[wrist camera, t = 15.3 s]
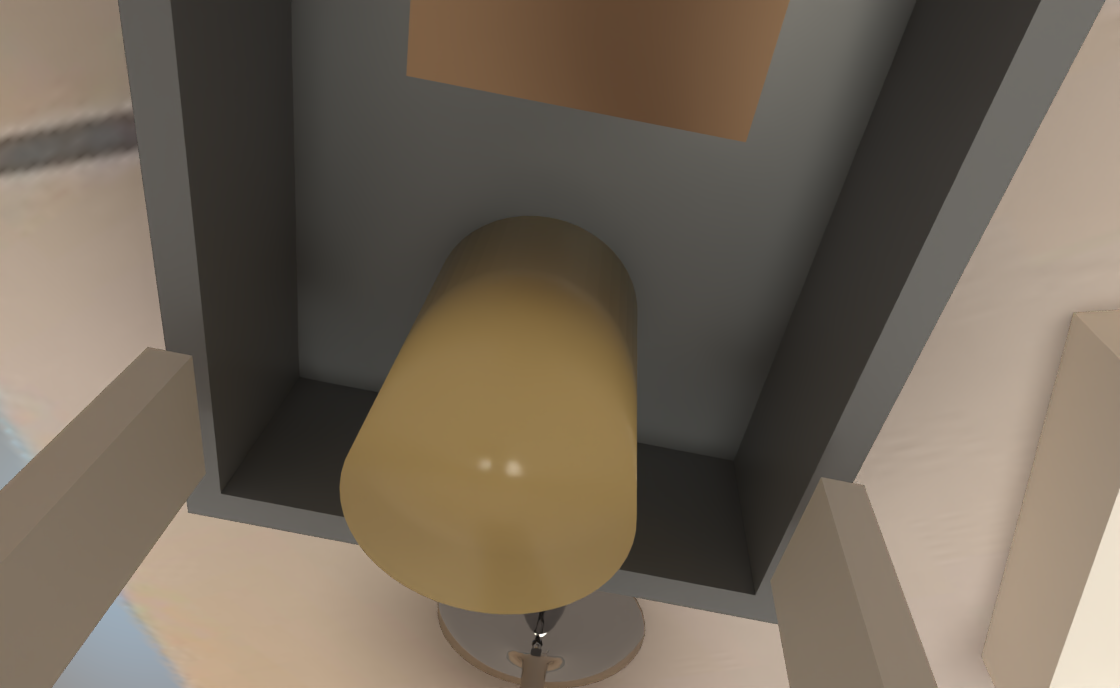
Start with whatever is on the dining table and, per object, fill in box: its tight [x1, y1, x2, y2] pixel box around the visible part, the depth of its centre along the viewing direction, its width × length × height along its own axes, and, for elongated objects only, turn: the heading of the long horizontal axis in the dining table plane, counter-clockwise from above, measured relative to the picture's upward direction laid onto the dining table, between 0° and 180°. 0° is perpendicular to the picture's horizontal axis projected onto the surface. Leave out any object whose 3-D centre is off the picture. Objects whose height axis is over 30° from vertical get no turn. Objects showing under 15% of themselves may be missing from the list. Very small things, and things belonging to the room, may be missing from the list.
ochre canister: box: [340, 216, 637, 614], centre depth 16 cm, size 5×5×7 cm
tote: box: [118, 0, 1105, 624], centre depth 14 cm, size 18×14×5 cm
